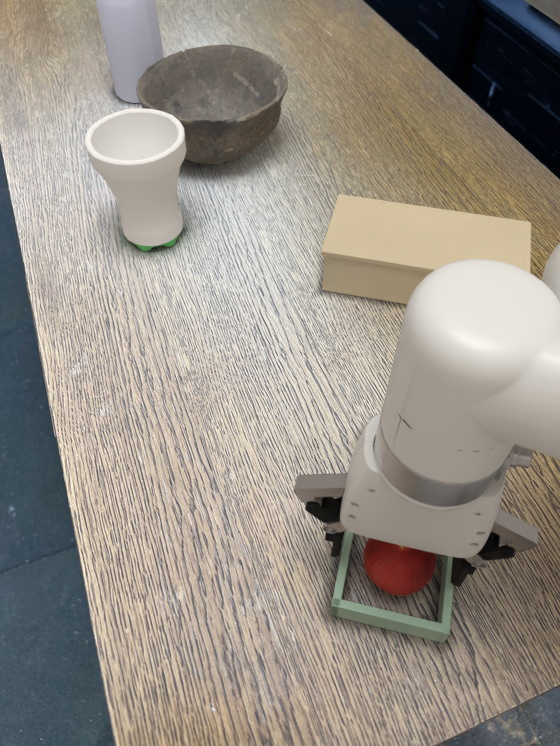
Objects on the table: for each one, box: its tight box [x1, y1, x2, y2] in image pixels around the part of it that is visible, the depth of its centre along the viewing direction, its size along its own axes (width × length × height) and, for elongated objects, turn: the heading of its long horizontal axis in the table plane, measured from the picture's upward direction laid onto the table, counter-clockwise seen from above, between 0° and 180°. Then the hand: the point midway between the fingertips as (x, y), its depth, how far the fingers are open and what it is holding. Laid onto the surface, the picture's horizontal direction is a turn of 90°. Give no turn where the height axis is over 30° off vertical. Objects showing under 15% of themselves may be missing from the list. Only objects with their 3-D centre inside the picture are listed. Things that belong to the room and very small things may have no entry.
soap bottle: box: [94, 0, 165, 104], centre depth 96 cm, size 9×9×24 cm
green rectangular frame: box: [329, 421, 455, 644], centre depth 58 cm, size 9×18×2 cm, turn 166°
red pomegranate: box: [362, 538, 437, 597], centre depth 53 cm, size 6×6×8 cm
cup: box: [84, 107, 186, 252], centre depth 78 cm, size 11×11×14 cm
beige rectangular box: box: [320, 193, 532, 305], centre depth 76 cm, size 23×11×6 cm, turn 76°
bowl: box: [136, 43, 289, 165], centre depth 92 cm, size 21×21×10 cm
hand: (396, 554), depth 53 cm, fingers open, 9 cm apart
